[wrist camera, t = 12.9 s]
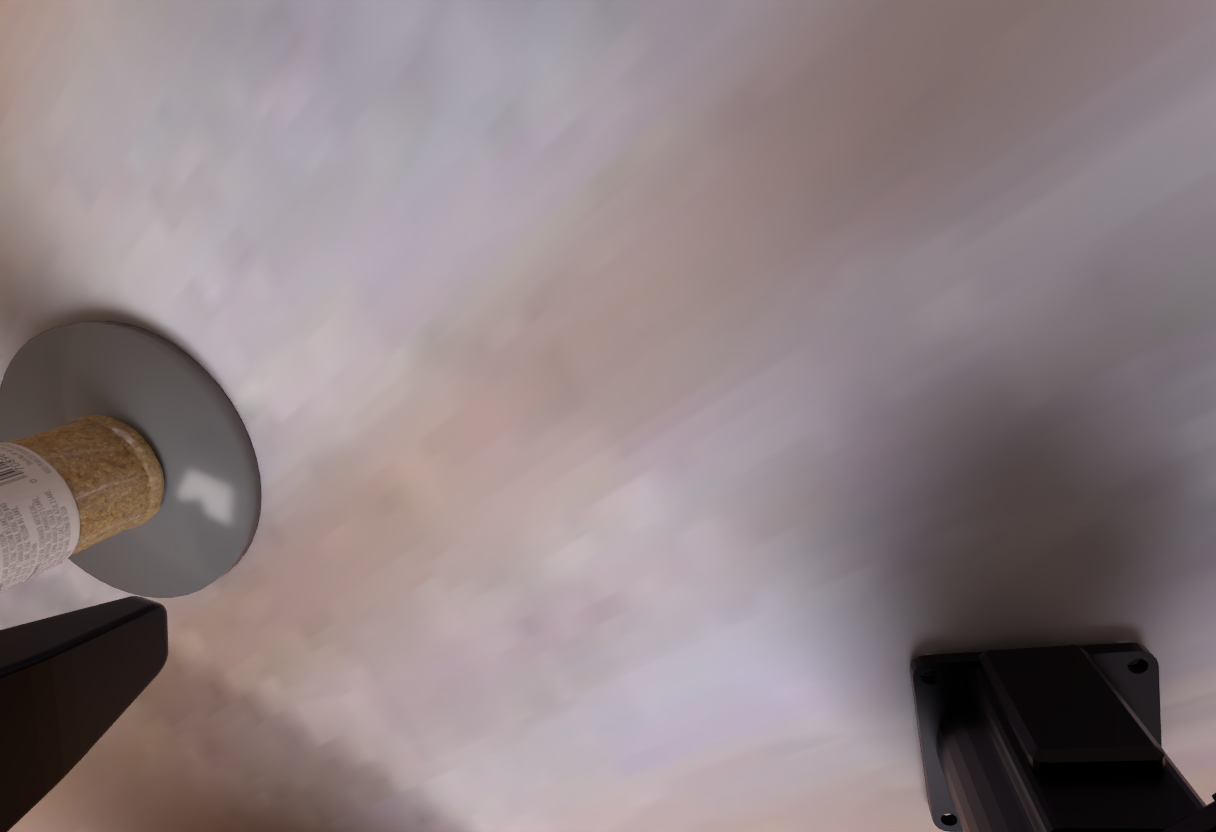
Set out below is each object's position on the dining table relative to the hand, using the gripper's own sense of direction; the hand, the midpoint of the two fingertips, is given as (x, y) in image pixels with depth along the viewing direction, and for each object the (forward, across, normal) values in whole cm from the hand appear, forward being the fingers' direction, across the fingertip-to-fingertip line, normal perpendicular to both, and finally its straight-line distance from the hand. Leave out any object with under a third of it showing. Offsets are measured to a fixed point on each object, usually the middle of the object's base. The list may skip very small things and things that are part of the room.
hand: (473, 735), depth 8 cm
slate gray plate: (+13, +19, +7) cm, 24 cm away
